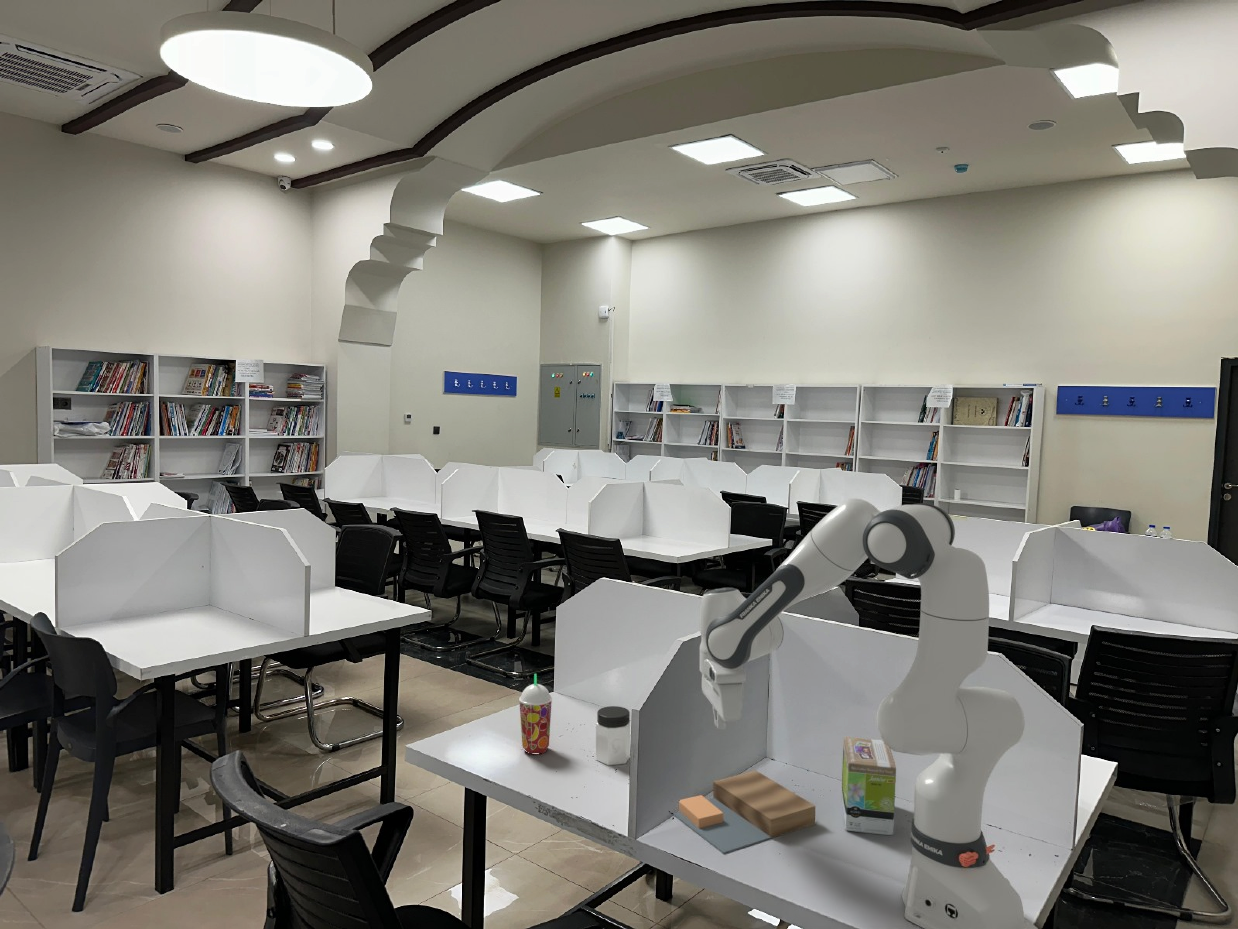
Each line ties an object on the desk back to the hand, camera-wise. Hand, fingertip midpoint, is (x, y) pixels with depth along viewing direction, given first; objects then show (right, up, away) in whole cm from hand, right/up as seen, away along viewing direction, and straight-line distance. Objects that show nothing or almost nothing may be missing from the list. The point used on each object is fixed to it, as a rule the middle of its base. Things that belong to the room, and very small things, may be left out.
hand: (720, 727), depth 179 cm
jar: (-23, -18, +32) cm, 43 cm away
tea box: (+32, -20, +2) cm, 38 cm away
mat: (-1, -20, -1) cm, 20 cm away
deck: (+10, -20, +4) cm, 22 cm away
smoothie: (-43, -18, +37) cm, 59 cm away
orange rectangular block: (-4, -18, +2) cm, 18 cm away
